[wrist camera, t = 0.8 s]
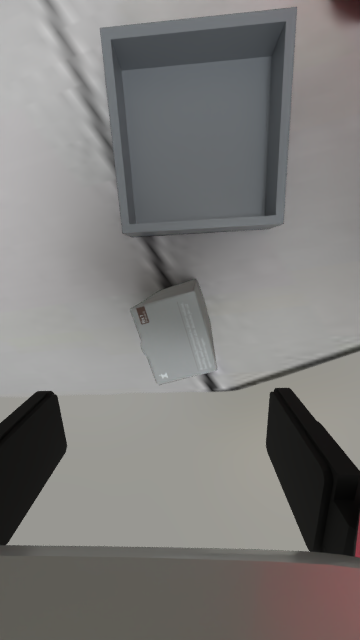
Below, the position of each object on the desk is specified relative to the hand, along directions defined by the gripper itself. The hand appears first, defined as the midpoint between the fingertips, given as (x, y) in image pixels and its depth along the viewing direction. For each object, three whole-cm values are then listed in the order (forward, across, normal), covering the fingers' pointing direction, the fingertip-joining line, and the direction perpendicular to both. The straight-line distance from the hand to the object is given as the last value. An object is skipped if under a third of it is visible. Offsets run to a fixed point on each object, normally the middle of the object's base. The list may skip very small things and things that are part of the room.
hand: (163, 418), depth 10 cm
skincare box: (+27, 0, +1) cm, 27 cm away
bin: (+27, -3, -20) cm, 34 cm away
